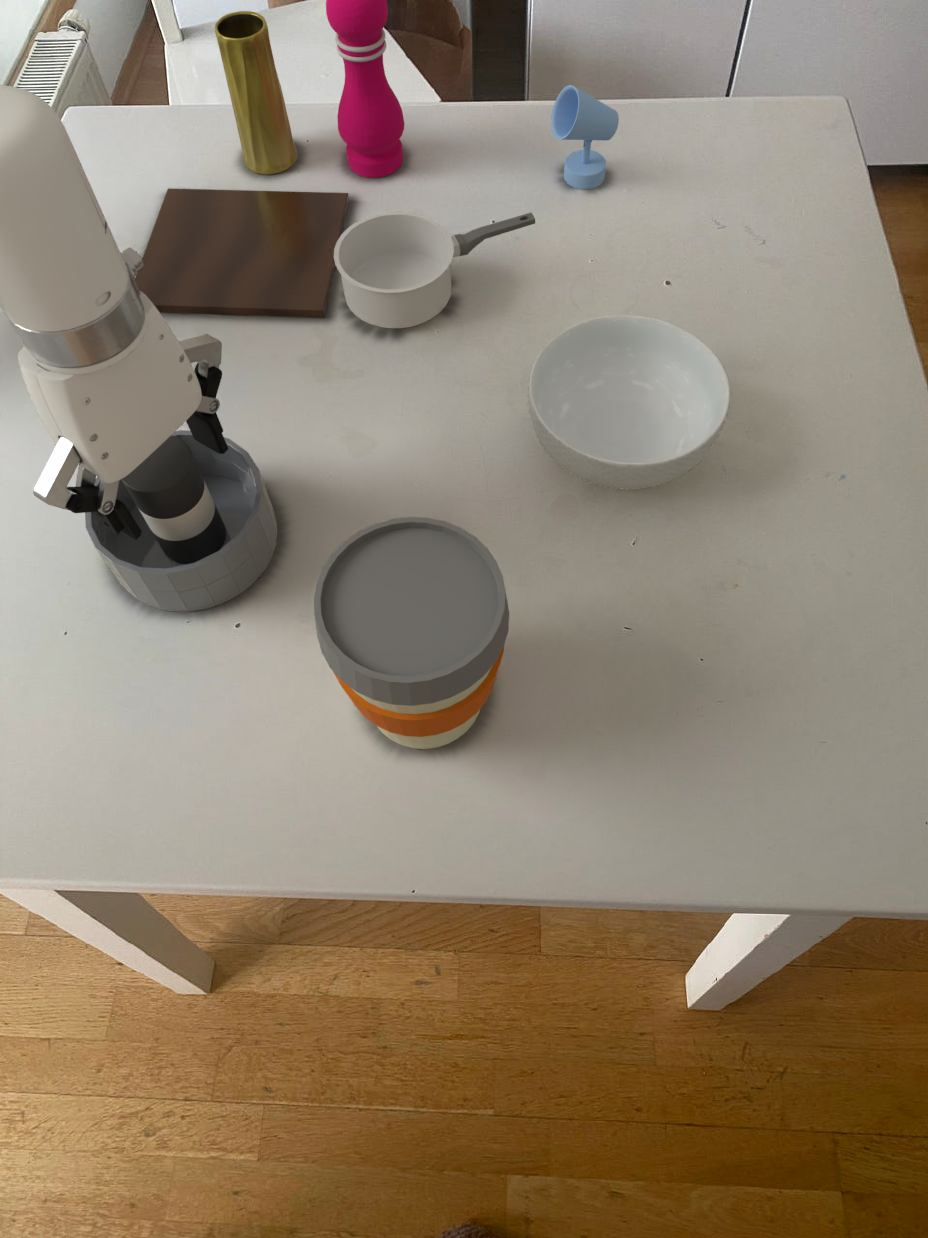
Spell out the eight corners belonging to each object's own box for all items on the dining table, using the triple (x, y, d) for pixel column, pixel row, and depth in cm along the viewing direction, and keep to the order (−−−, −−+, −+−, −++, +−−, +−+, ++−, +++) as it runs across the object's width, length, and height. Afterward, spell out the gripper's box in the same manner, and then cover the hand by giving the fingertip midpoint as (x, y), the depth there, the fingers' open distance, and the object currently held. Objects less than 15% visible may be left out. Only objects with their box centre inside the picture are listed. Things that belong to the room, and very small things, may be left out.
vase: (264, 182, 99) (232, 49, 87) (233, 157, 102) (197, 23, 89) (308, 158, 101) (283, 24, 89) (277, 134, 104) (248, 0, 91)
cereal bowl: (635, 550, 75) (648, 499, 69) (487, 447, 80) (486, 392, 74) (750, 432, 80) (772, 375, 74) (604, 344, 86) (613, 284, 80)
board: (128, 311, 90) (125, 303, 89) (170, 195, 99) (167, 187, 98) (324, 318, 89) (322, 310, 88) (349, 200, 98) (348, 192, 97)
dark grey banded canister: (154, 563, 75) (109, 490, 66) (169, 509, 77) (128, 432, 69) (218, 566, 74) (182, 493, 66) (232, 512, 77) (199, 435, 68)
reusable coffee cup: (503, 620, 72) (505, 510, 59) (510, 769, 66) (515, 683, 53) (347, 625, 72) (315, 516, 59) (339, 775, 66) (302, 690, 53)
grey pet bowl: (93, 607, 73) (62, 568, 68) (136, 471, 80) (111, 426, 75) (260, 616, 73) (242, 577, 67) (290, 478, 79) (275, 433, 74)
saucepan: (551, 299, 89) (555, 252, 84) (359, 350, 87) (351, 305, 82) (511, 228, 95) (513, 180, 90) (329, 274, 92) (320, 227, 87)
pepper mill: (334, 151, 102) (302, -49, 84) (393, 134, 103) (373, -66, 86) (356, 188, 99) (327, -12, 81) (417, 170, 100) (401, -31, 82)
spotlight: (558, 197, 97) (618, 183, 98) (565, 106, 88) (630, 92, 89) (543, 170, 99) (601, 157, 100) (548, 78, 90) (611, 65, 91)
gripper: (134, 212, 59) (209, 396, 74) (-74, 377, 52) (54, 541, 67) (219, 252, 57) (278, 433, 72) (12, 429, 50) (125, 588, 65)
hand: (169, 485), depth 69 cm, fingers open, 9 cm apart
